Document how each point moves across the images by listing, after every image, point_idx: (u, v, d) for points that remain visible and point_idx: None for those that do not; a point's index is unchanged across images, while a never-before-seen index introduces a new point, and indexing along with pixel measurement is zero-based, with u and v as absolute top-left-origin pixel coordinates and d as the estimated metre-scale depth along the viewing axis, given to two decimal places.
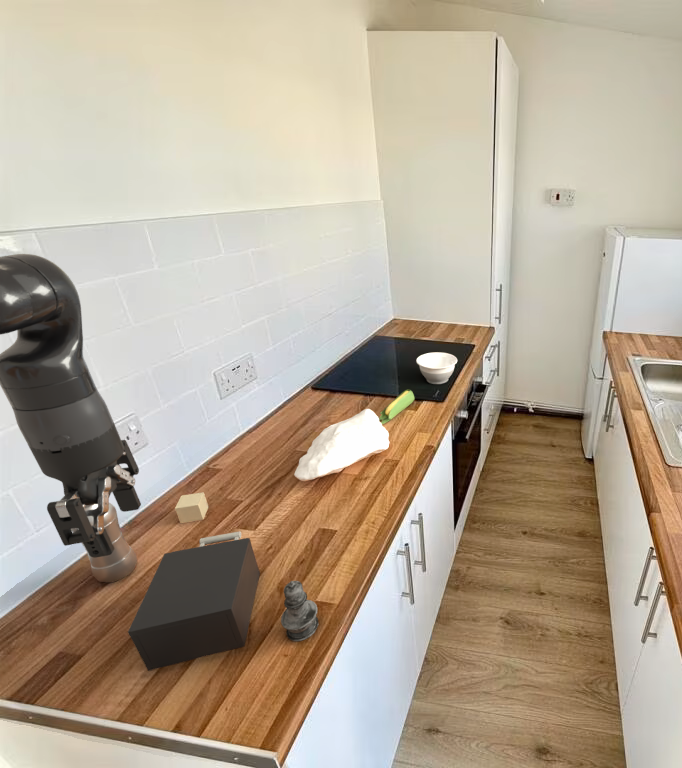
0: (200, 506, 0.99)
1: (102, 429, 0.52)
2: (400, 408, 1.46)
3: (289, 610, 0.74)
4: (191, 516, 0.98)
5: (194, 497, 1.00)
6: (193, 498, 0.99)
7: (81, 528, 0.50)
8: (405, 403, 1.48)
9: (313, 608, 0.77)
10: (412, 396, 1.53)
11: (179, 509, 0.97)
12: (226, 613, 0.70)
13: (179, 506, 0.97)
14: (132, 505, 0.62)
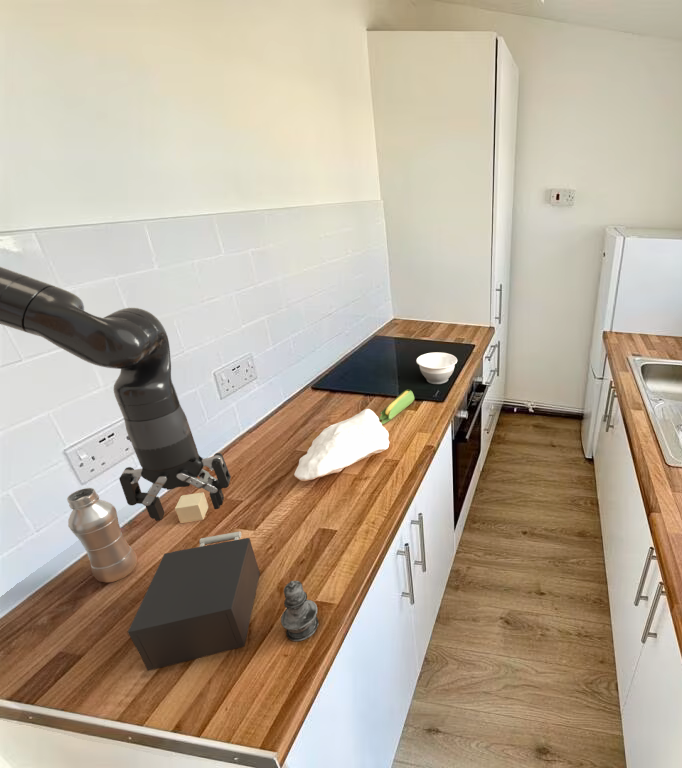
0: (200, 506, 0.99)
1: (144, 446, 0.66)
2: (400, 408, 1.46)
3: (289, 610, 0.74)
4: (191, 516, 0.98)
5: (194, 497, 1.00)
6: (193, 498, 0.99)
7: (125, 494, 0.70)
8: (405, 403, 1.48)
9: (313, 608, 0.77)
10: (412, 396, 1.53)
11: (179, 509, 0.97)
12: (226, 613, 0.70)
13: (179, 506, 0.97)
14: None
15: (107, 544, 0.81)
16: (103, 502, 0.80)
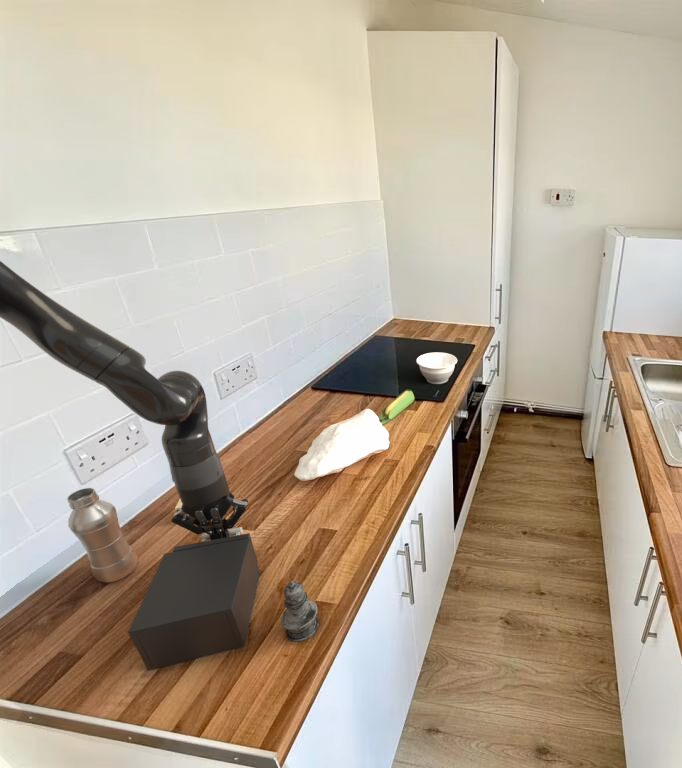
0: None
1: (185, 487, 0.77)
2: (400, 408, 1.46)
3: (289, 610, 0.74)
4: None
5: None
6: None
7: (188, 529, 0.83)
8: (405, 403, 1.48)
9: (313, 608, 0.77)
10: (412, 396, 1.53)
11: None
12: (226, 613, 0.70)
13: (179, 506, 0.97)
14: None
15: (107, 544, 0.81)
16: (103, 502, 0.80)
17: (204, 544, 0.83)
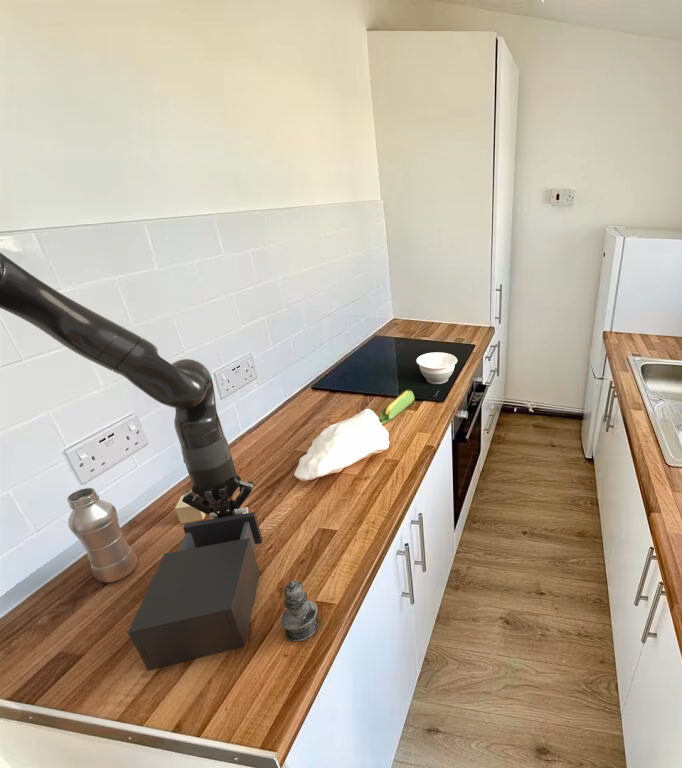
0: None
1: (195, 468, 0.82)
2: (400, 408, 1.46)
3: (289, 610, 0.74)
4: (191, 516, 0.98)
5: None
6: None
7: (198, 508, 0.88)
8: (405, 403, 1.48)
9: (313, 608, 0.77)
10: (412, 396, 1.53)
11: (179, 509, 0.97)
12: (226, 613, 0.70)
13: (179, 506, 0.97)
14: None
15: (107, 544, 0.81)
16: (103, 502, 0.80)
17: (212, 521, 0.88)
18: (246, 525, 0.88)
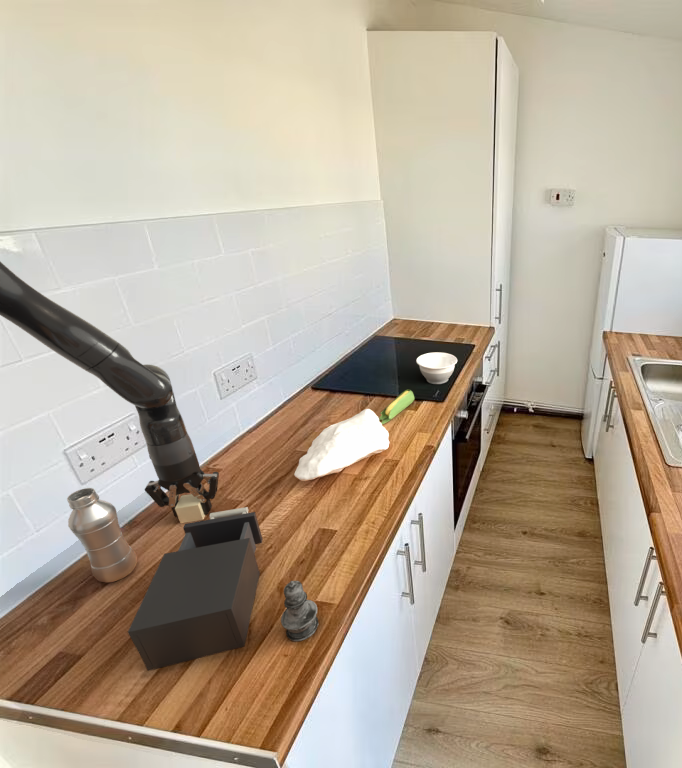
0: (200, 506, 0.99)
1: (160, 463, 0.90)
2: (400, 408, 1.46)
3: (289, 610, 0.74)
4: (191, 516, 0.98)
5: (194, 497, 1.00)
6: (193, 498, 0.99)
7: (154, 499, 0.95)
8: (405, 403, 1.48)
9: (313, 608, 0.77)
10: (412, 396, 1.53)
11: (179, 509, 0.97)
12: (226, 613, 0.70)
13: (179, 506, 0.97)
14: None
15: (107, 544, 0.81)
16: (103, 502, 0.80)
17: (212, 521, 0.88)
18: (246, 525, 0.88)
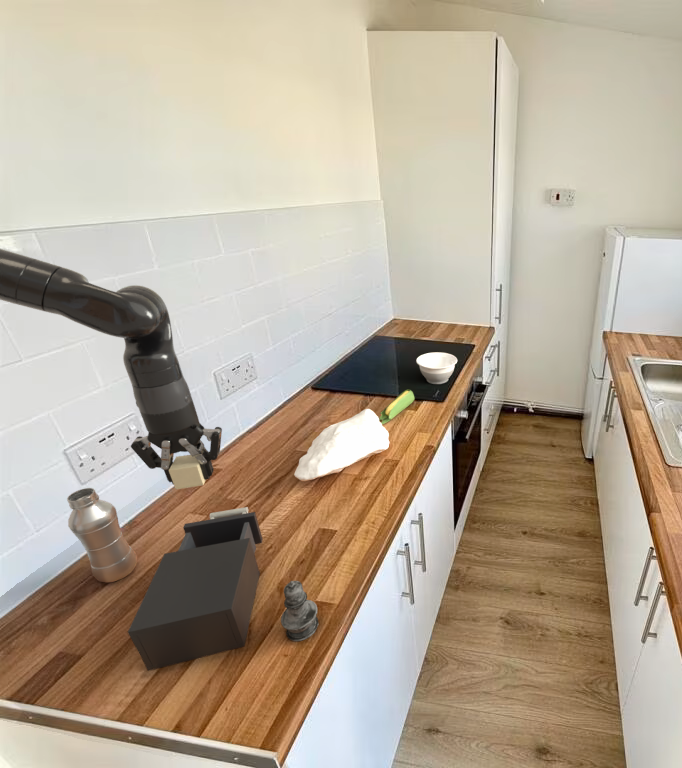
0: (200, 469, 0.82)
1: (149, 411, 0.72)
2: (400, 408, 1.46)
3: (289, 610, 0.74)
4: (188, 480, 0.81)
5: (192, 458, 0.82)
6: (191, 459, 0.82)
7: (143, 459, 0.78)
8: (405, 403, 1.48)
9: (313, 608, 0.77)
10: (412, 396, 1.53)
11: (173, 471, 0.79)
12: (226, 613, 0.70)
13: (173, 468, 0.80)
14: None
15: (107, 544, 0.81)
16: (103, 502, 0.80)
17: (212, 521, 0.88)
18: (246, 525, 0.88)
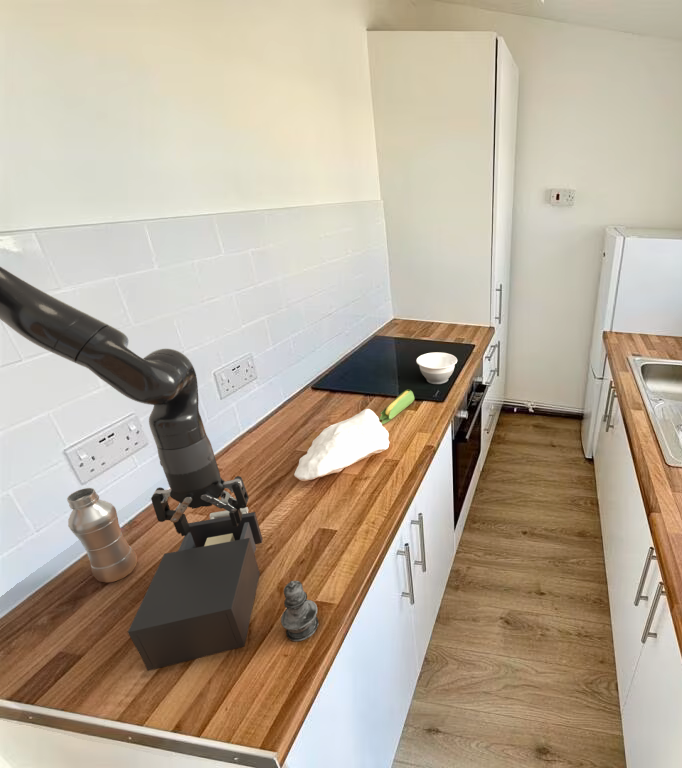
0: None
1: (173, 471, 0.73)
2: (400, 408, 1.46)
3: (289, 610, 0.74)
4: None
5: (222, 540, 0.86)
6: (221, 541, 0.86)
7: (156, 511, 0.78)
8: (405, 403, 1.48)
9: (313, 608, 0.77)
10: (412, 396, 1.53)
11: None
12: (226, 613, 0.70)
13: None
14: None
15: (107, 544, 0.81)
16: (103, 502, 0.80)
17: (212, 521, 0.88)
18: (246, 525, 0.88)
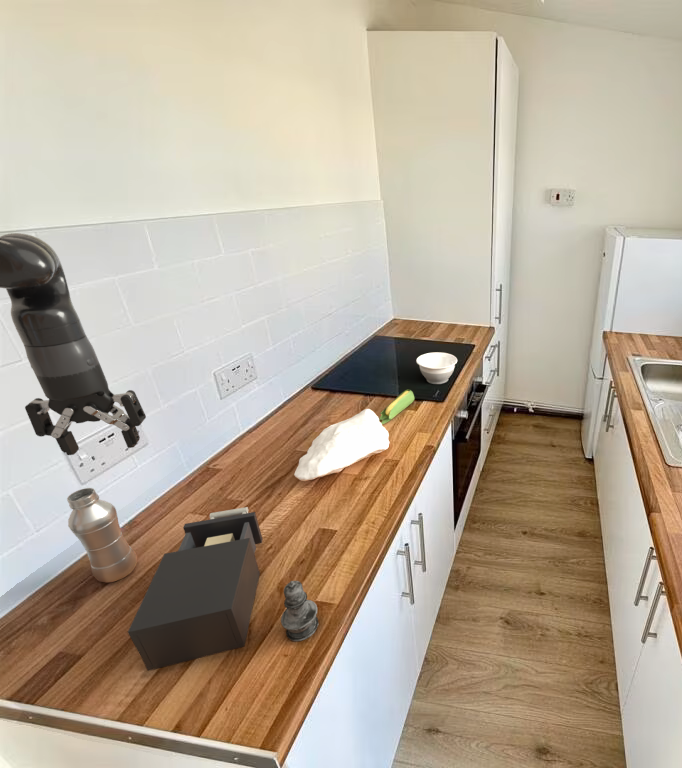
0: None
1: (44, 374, 0.66)
2: (400, 408, 1.46)
3: (289, 610, 0.74)
4: None
5: (222, 540, 0.86)
6: (221, 541, 0.86)
7: (33, 424, 0.70)
8: (405, 403, 1.48)
9: (313, 608, 0.77)
10: (412, 396, 1.53)
11: None
12: (226, 613, 0.70)
13: None
14: None
15: (107, 544, 0.81)
16: (103, 502, 0.80)
17: (212, 521, 0.88)
18: (246, 525, 0.88)
